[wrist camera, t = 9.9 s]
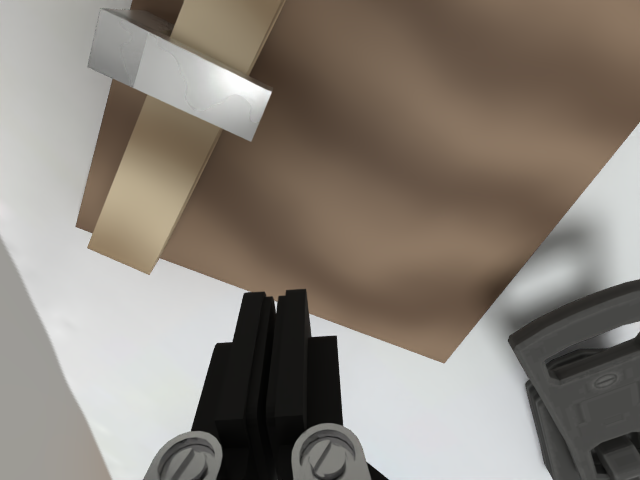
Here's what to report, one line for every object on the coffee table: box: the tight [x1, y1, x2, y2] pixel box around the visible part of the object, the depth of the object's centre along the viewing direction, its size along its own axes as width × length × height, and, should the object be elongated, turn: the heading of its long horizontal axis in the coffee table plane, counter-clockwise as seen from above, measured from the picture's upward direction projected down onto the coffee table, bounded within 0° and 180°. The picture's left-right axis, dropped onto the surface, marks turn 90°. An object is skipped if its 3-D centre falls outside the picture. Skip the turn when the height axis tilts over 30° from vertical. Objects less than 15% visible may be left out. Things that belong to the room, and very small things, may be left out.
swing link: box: [87, 0, 286, 275], centre depth 18 cm, size 18×4×2 cm, turn 149°
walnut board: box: [76, 0, 640, 363], centre depth 21 cm, size 22×24×2 cm
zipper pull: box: [508, 279, 640, 480], centre depth 28 cm, size 9×7×25 cm
